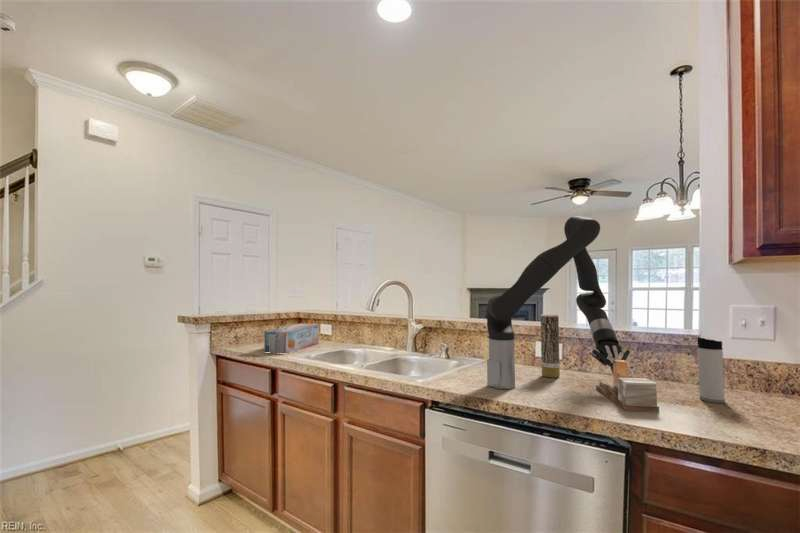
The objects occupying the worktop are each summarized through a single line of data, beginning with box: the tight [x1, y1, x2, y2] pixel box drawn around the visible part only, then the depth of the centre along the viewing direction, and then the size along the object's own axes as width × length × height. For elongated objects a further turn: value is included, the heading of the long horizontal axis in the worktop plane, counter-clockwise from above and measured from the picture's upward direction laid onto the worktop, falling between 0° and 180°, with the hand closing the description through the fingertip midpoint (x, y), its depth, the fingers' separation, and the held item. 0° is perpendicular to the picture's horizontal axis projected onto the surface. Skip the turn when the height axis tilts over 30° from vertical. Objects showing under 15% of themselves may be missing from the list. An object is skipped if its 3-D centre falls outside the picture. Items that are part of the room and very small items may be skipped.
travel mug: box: [697, 337, 726, 404], centre depth 122 cm, size 6×7×20 cm
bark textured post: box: [540, 313, 561, 379], centre depth 154 cm, size 7×7×25 cm
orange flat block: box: [612, 359, 628, 390], centre depth 121 cm, size 13×3×10 cm, turn 172°
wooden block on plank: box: [595, 377, 660, 413], centre depth 123 cm, size 24×9×8 cm, turn 172°
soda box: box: [263, 323, 319, 354], centre depth 224 cm, size 41×14×13 cm, turn 167°
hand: (618, 374), depth 127 cm, fingers closed
